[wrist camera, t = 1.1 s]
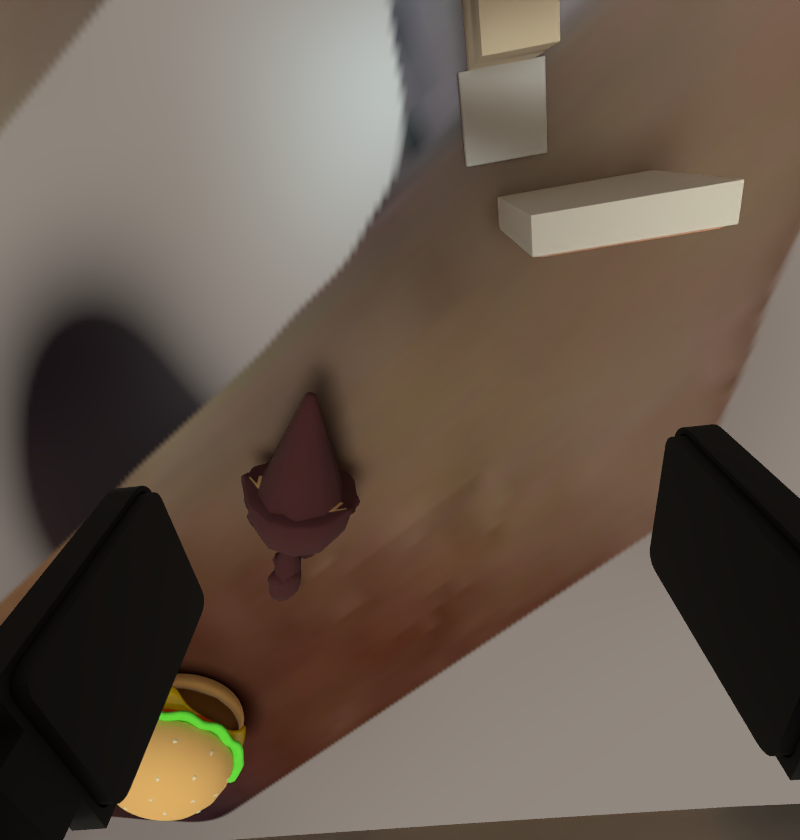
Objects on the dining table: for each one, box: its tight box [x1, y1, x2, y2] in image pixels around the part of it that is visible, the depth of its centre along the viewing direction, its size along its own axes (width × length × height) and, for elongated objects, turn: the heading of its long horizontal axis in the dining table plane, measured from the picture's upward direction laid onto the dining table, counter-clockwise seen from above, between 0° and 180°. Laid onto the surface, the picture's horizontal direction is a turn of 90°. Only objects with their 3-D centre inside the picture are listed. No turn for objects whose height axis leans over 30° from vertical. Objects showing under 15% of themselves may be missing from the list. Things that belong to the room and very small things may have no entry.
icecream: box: [241, 392, 360, 601], centre depth 32 cm, size 7×7×15 cm
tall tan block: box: [457, 0, 560, 167], centre depth 22 cm, size 10×4×5 cm, turn 9°
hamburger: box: [118, 674, 246, 821], centre depth 44 cm, size 12×12×9 cm
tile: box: [497, 170, 744, 257], centre depth 24 cm, size 2×8×8 cm, turn 99°
